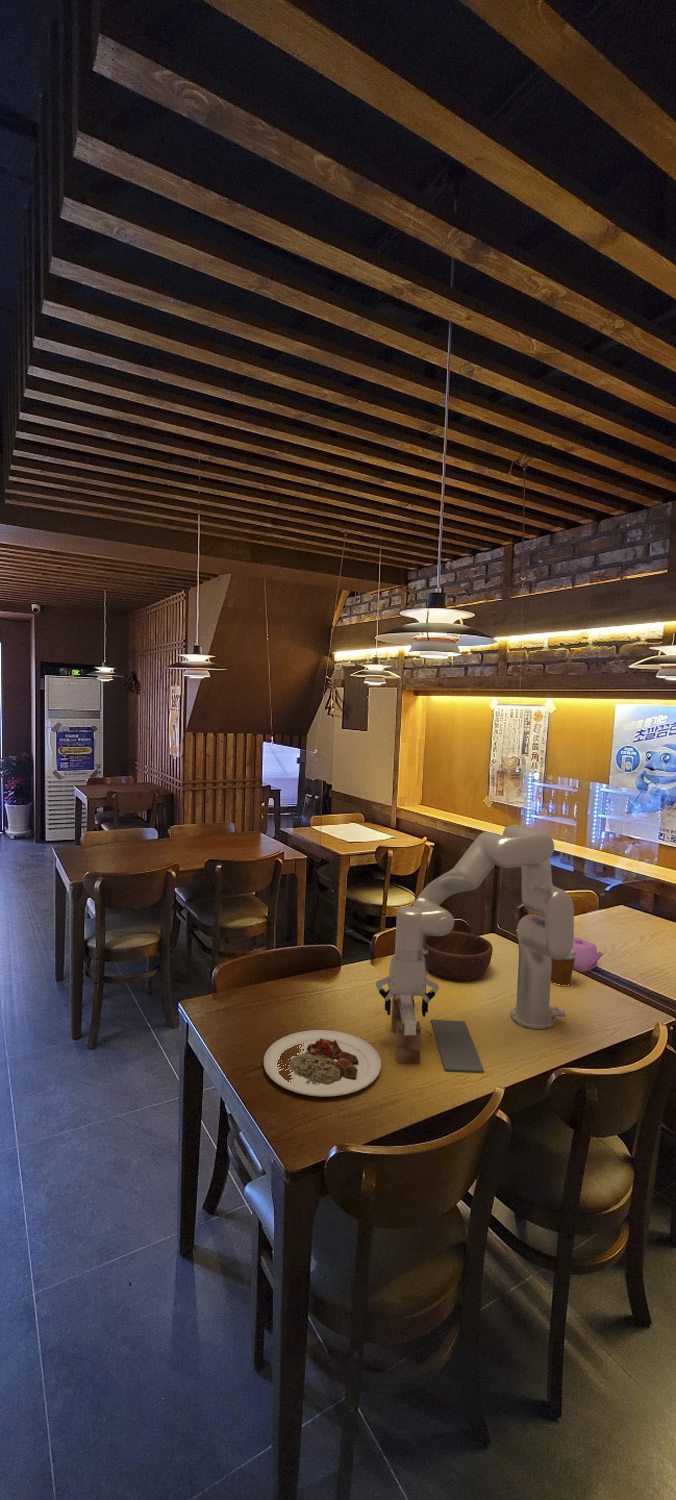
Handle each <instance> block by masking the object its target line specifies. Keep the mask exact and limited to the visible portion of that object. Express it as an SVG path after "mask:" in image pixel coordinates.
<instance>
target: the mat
mask: <svg viewBox="0 0 676 1500" xmlns="http://www.w3.org/2000/svg"><path fill="white" fill-rule="evenodd" d="M430 1022H431V1026H432V1030H433V1033H434V1034H433V1035H434V1038H435V1041H436V1045H437V1048H438V1052H439V1056H440V1059H441V1063H442V1066H443V1070H444V1072H449V1073H450V1072H452V1073H453V1072H455V1073H475V1074H476V1073H477V1074H479V1072H484V1073H485V1070H484V1067H483V1064H482V1062H481V1059H480V1056H479V1053H478V1052H477V1049H476V1047H475V1043H474V1041H473V1039H472V1036H471V1034H470V1031H469V1028H468V1026H467V1023H466V1021H465V1020H450V1019H449V1020H447V1019H431V1020H430Z"/></svg>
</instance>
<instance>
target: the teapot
mask: <svg viewBox="0 0 676 1500" xmlns="http://www.w3.org/2000/svg"><path fill="white" fill-rule="evenodd" d="M572 948H574V949H575V951H576V954H577V956H576V958H575V961H574V966H573V969H574V971H576V972H580V973H582V974H583V973H588V972H590V971H593V970H594V968H595V966H596V965H597V966H598V961H599V960H600V959H601V957H602V956H603V955H604V953H603V952H601V951H597V945H596V944H595V943H591V942H589V941H586V940H583V938H581V937H574V941H573V947H572ZM597 966H596V967H597ZM595 969H596V968H595Z"/></svg>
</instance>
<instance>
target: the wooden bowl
mask: <svg viewBox="0 0 676 1500" xmlns="http://www.w3.org/2000/svg"><path fill="white" fill-rule="evenodd" d="M423 948H424V949H428V954H425V955H424V958H425V965H426V969H427V970H428V971H429V972H430V973H431V974H433V975H434V976H437V977H439V978H441V979H445V980H448V981H454V982H472V981H476V980H479V979H481V978H482V977H484V975H485V974H486V973H487V971H488V969H489V967H490V964H491V960H492V955H493V951H494V950H493V949H494V948H493V945H492V943H491V942H490V941H489V940H487V939H486V938H484V937H482V936H480V935H476V934H474V933H469V932H465V931H458V930H457V931H456V930H452V931H451V932H450V933H448V934H447V935H444V936H429V935H424V936H423Z"/></svg>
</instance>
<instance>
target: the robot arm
mask: <svg viewBox="0 0 676 1500" xmlns="http://www.w3.org/2000/svg"><path fill="white" fill-rule="evenodd" d="M554 851H555V842H554V840H553V838H552V837H551V836H550V835H549V834H548V833H547V832H545V831H541V830H538V829H535V828H530V827H528V826H524V825H519V824H510V825H508V826H506V827H505V828H504V830H503V832H502V834H500V833H497V832H493V831H484V832H481V833H480V834H479V835H478V836H477V837H476V838H475V840H474V841H473V842H472V843H471V845H469V848H467V850H466V851H465V853H464V854H463V855H462V857H461V858H460V859H459V860H458V861H457V863H456V864H455V865H454V866H453V868H452V869H450V870H448V871H447V872H445V873H443V874H441V875H440V876H438V877H437V878H435V879H434V880H431V882H429V883H428V884H427V885H426V886H425V887H424V889H422V890H421V892H420V893H419V895H418V896H417V897H416V899H415V900H414V902H413V905H412V906H410V905H406V906H401V907H400V908H398V909H397V911H396V923H395V947H394V954H392V955H391V959H390V964H389V971H388V976H386V977H384V978H382V979H380V980H377V981H376V982H375V987H376V989H377V991H378V992H379V994H380V996H381V997H382V998H383V999H384V1011H385V1012H386V1013H387V1014H386V1015H387V1016H391V1010H392V1001H391V998H393V995H410V996H414V997H417V996H418V997H420V996H421V998H422V999H421V1015H422V1017H424V1018H426V1017H427V1015H426V1013H428V1012H429V1003H430V1001H431V1000H432V999H433V998H434V997H436V995H437V992H438V991H439V989H440V986H439V984H438V983H436V982H434V981H432V980H431V979H429V978H428V977H427V966H426V964H425V958H424V955H425V954H428V949H424V948H423V937H424V936H425V935H429V936H444V935H447V934H448V933H450V932H451V931H453V930H454V928H455V927H454V926H455V918H454V916H453V915H452V914H451V912H450V911H448V910H447V909H445V908H444V907H441V904H443V903H444V901H445V900H447V899H448V898H450V897H451V896H453V895H455V894H457V893H458V894H459V893H464V892H468V891H469V892H470V891H474V890H476V889H478V888H479V887H480V886H481V884H482V883H483V881H484V880H485V879H486V877H487V876H488V874H490V872H491V871H492V869H493V868H494V867H495V866H498V867H501V868H504V869H513V868H514V869H515V868H521V902H522V905H523V907H524V908H525V909H526V910H527V911H529V912H531V913H533V914H526V915H524V916H523V917H521V918H520V920H519V921H518V924H517V927H516V936H517V937H516V938H517V944H518V945H517V946H518V966H517V967H518V968H517V969H518V970H517V984H516V985H517V988H516V1005H515V1007H514V1008H512V1009H511V1011H510V1014H509V1015H510V1016H509V1017H510V1019H511V1020H512V1021H513V1022H514V1023H516V1024H517V1025H519V1026H522V1027H525V1028H528V1029H534V1030H547V1029H549V1028H552V1027H553V1026H554V1024H555V1017H559V1018H566V1016H567V1014H566V1010H564V1009H559V1007H558V1006H551V1005H550V999H551V986H552V985H551V984H552V982H551V972H552V961H551V958H553V959H557V960H561V959H564V958H566V957H567V956H568V955H569V954H570V952H571V950H572V947H573V941H574V938H575V931H574V930H575V929H574V928H575V909H574V907H575V906H574V902H573V900H572V897H571V896H570V894H569V893H568V892H566V891H565V890H564V889H562V888H559V887H556V886H554V884H553V876H552V875H553V874H552V864H551V860H550V858H551V856H553V854H554ZM387 984H388V989H387V990H385V988H383V986H385V985H387ZM427 986H428V987H431V990H430V991H429V992H427ZM552 1025H553V1026H552ZM551 1026H552V1027H551ZM546 1028H547V1029H546Z"/></svg>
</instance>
